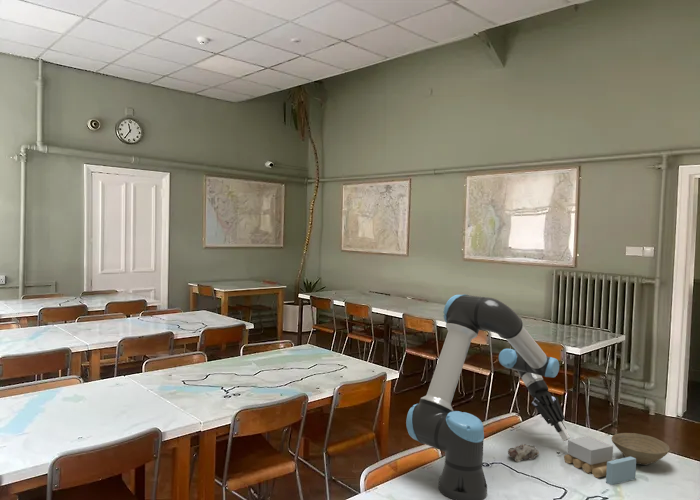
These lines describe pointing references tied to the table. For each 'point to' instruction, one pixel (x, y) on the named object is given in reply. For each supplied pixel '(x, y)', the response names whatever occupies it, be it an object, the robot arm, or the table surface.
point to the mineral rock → (523, 452)
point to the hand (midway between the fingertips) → (566, 439)
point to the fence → (621, 470)
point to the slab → (590, 450)
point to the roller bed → (588, 466)
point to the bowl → (640, 447)
